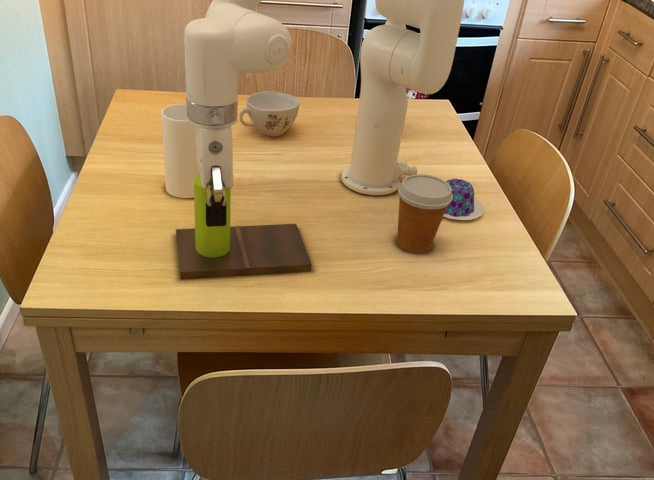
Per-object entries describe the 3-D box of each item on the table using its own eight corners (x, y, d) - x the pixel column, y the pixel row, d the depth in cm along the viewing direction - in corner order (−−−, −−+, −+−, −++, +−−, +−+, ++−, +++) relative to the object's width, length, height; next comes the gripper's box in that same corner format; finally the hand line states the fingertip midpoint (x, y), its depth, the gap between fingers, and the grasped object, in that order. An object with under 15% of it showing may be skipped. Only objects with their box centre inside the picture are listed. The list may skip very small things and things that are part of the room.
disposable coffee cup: (428, 264, 111) (442, 205, 103) (379, 246, 114) (390, 187, 107) (447, 241, 117) (462, 183, 110) (400, 224, 121) (412, 167, 114)
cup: (199, 201, 123) (197, 123, 113) (159, 194, 124) (154, 117, 114) (211, 182, 129) (211, 107, 120) (173, 175, 130) (170, 101, 121)
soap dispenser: (238, 241, 110) (241, 134, 98) (219, 261, 105) (219, 150, 93) (209, 232, 112) (208, 125, 99) (188, 251, 106) (185, 141, 94)
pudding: (423, 218, 123) (429, 194, 120) (423, 189, 133) (428, 167, 130) (485, 227, 122) (492, 203, 119) (481, 197, 132) (487, 175, 129)
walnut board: (295, 230, 117) (296, 223, 116) (311, 271, 107) (311, 263, 106) (176, 236, 113) (175, 228, 112) (180, 279, 103) (180, 271, 102)
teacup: (282, 118, 158) (284, 87, 153) (307, 138, 150) (310, 105, 145) (227, 127, 152) (228, 94, 147) (250, 148, 143) (251, 114, 138)
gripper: (245, 133, 87) (242, 237, 97) (230, 88, 100) (229, 183, 111) (190, 134, 85) (194, 239, 96) (182, 88, 99) (186, 185, 109)
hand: (213, 209), depth 103 cm, fingers open, 9 cm apart
